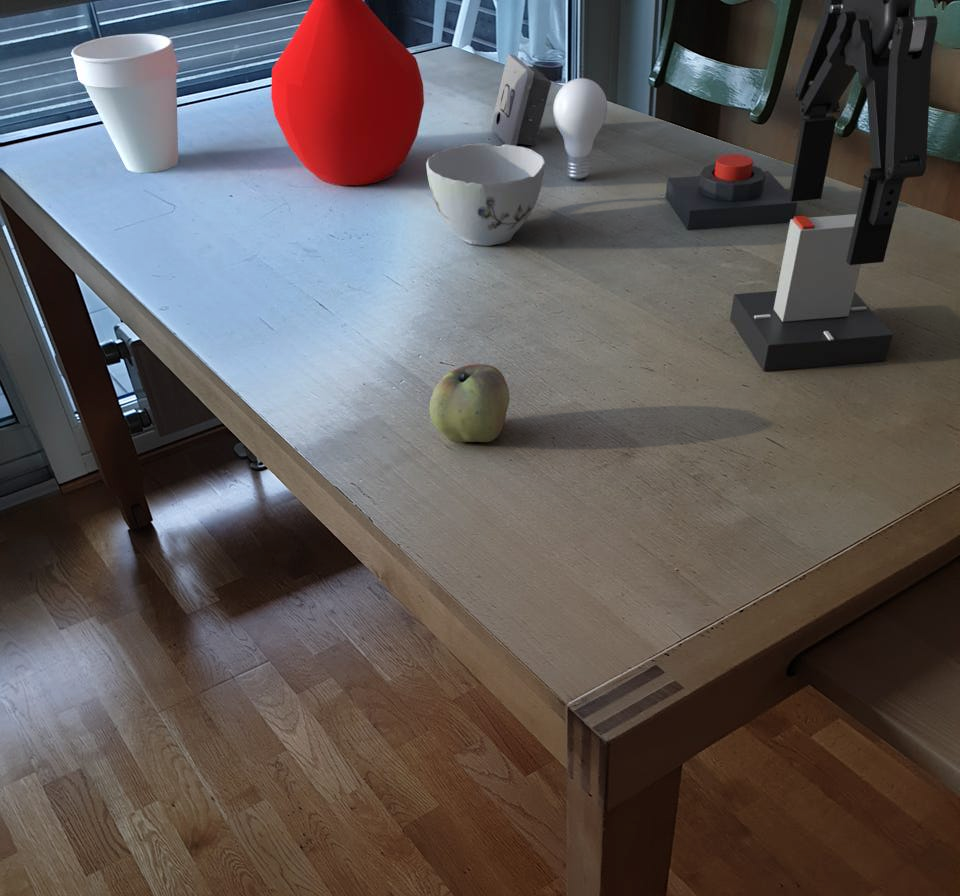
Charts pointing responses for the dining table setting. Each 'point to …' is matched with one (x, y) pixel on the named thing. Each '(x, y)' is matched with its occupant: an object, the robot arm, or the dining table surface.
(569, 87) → the lightbulb
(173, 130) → the cup
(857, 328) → the dial panel
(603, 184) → the dining table surface
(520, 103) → the electrical switch
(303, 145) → the vase
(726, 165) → the power button
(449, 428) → the apple
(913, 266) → the dining table surface
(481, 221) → the teacup
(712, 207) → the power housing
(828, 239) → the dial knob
